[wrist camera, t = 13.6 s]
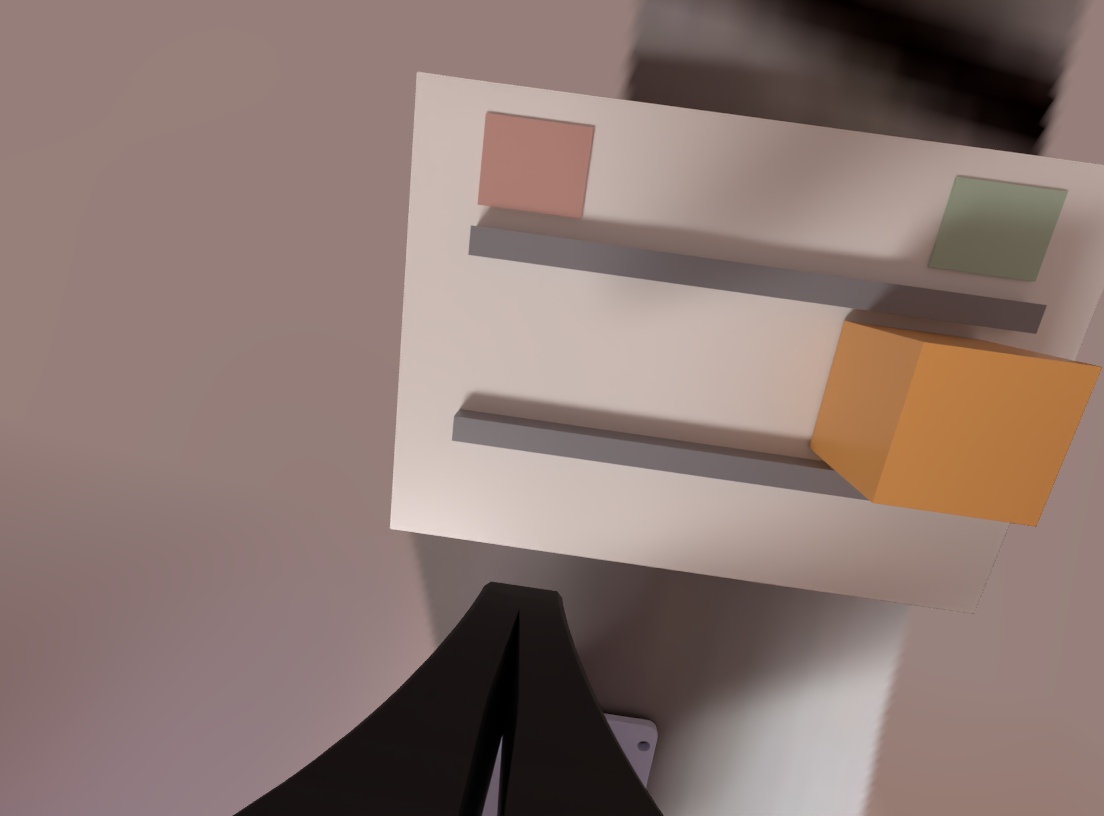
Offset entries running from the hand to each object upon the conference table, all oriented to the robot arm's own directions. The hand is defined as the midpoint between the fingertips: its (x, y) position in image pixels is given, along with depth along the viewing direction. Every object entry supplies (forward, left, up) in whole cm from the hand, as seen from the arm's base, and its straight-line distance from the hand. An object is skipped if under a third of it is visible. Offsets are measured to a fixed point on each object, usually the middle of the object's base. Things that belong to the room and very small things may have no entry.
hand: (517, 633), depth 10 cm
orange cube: (+4, -10, -8) cm, 14 cm away
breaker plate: (+4, -5, -10) cm, 12 cm away
